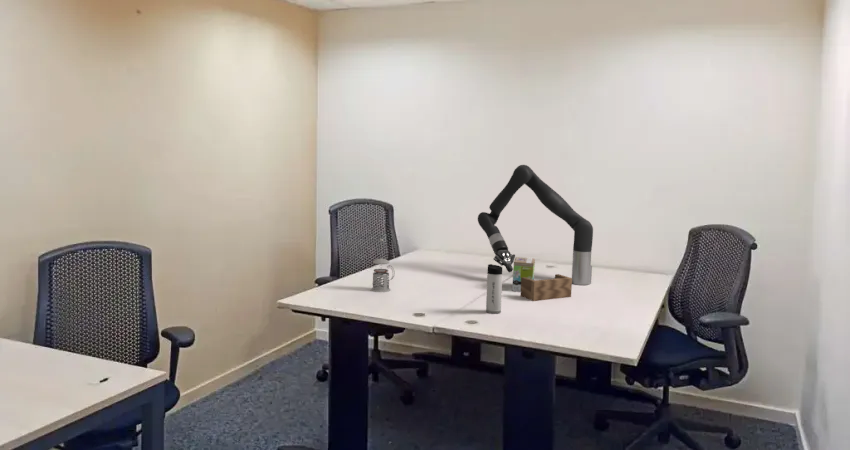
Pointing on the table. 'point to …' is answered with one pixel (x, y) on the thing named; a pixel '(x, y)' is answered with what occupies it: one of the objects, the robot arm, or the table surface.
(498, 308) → the travel mug
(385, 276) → the french press
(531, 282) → the display nook
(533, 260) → the tea box
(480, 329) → the table surface
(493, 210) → the robot arm
